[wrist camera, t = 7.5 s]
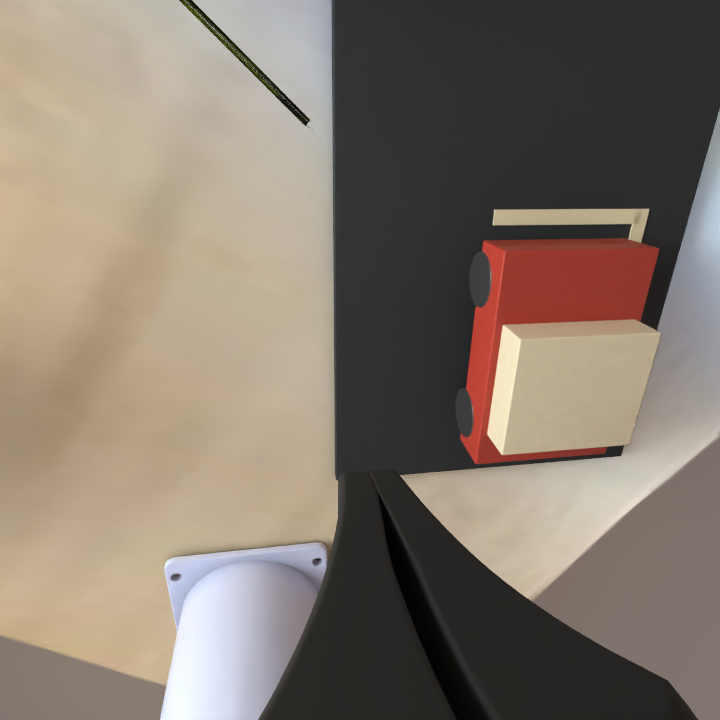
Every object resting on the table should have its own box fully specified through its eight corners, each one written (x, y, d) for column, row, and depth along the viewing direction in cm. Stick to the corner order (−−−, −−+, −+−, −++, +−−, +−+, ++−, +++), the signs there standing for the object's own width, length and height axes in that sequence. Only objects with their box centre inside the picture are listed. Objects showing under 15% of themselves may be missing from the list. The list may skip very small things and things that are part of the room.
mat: (615, 450, 26) (622, 457, 26) (335, 474, 24) (336, 481, 23) (741, -8, 18) (755, -12, 17) (331, -35, 16) (333, -41, 15)
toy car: (452, 428, 23) (571, 419, 24) (487, 488, 19) (628, 475, 20) (472, 235, 20) (612, 233, 20) (522, 261, 16) (693, 257, 16)
